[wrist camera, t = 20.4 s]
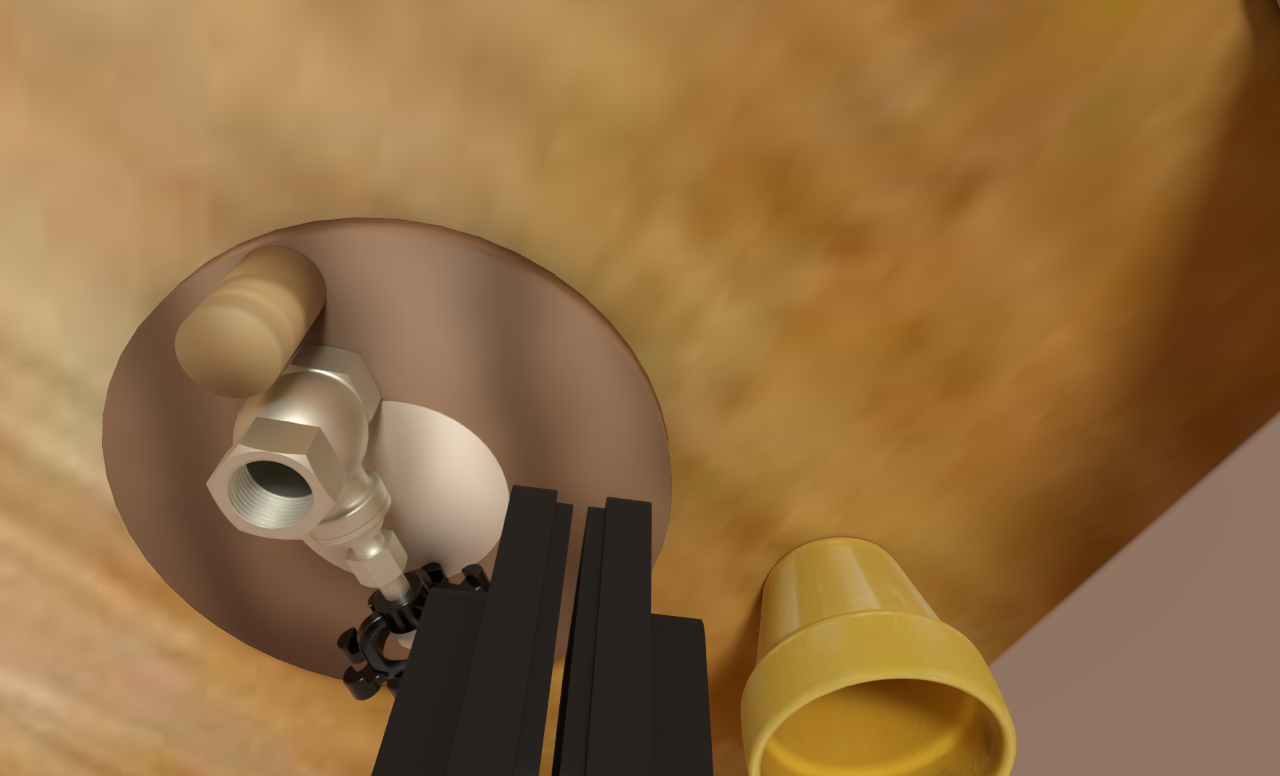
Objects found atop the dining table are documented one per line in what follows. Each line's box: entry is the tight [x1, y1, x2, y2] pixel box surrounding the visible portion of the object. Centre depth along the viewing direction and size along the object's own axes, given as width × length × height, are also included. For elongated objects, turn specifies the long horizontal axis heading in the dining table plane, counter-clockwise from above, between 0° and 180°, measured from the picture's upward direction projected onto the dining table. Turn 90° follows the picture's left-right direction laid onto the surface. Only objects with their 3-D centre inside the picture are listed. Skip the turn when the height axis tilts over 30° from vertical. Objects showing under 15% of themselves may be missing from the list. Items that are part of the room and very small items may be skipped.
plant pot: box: [741, 537, 1017, 776], centre depth 38 cm, size 10×10×10 cm
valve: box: [206, 344, 490, 700], centre depth 31 cm, size 7×7×12 cm
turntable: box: [102, 218, 672, 686], centre depth 34 cm, size 22×22×7 cm
